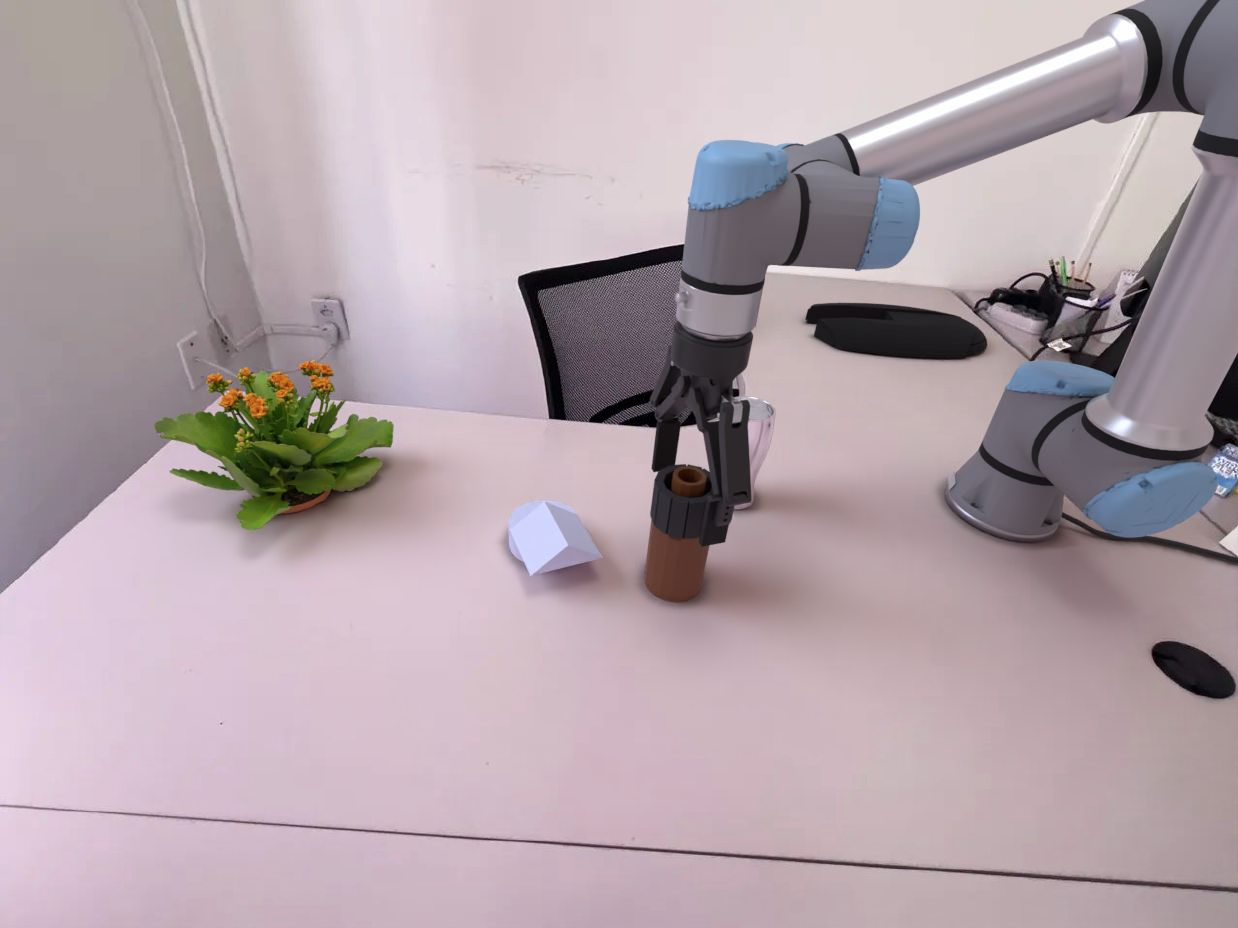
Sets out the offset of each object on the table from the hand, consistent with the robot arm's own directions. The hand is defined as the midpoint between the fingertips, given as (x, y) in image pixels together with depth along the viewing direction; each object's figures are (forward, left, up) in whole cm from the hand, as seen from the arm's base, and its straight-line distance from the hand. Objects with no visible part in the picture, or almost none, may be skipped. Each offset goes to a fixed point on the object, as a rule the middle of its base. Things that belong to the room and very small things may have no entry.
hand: (685, 503), depth 73 cm
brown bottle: (0, 0, -12) cm, 12 cm away
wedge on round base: (+16, +1, -12) cm, 20 cm away
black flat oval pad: (-29, -97, -12) cm, 102 cm away
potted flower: (+53, +4, -12) cm, 55 cm away
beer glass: (-4, -20, -12) cm, 24 cm away
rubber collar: (0, 0, -2) cm, 2 cm away
